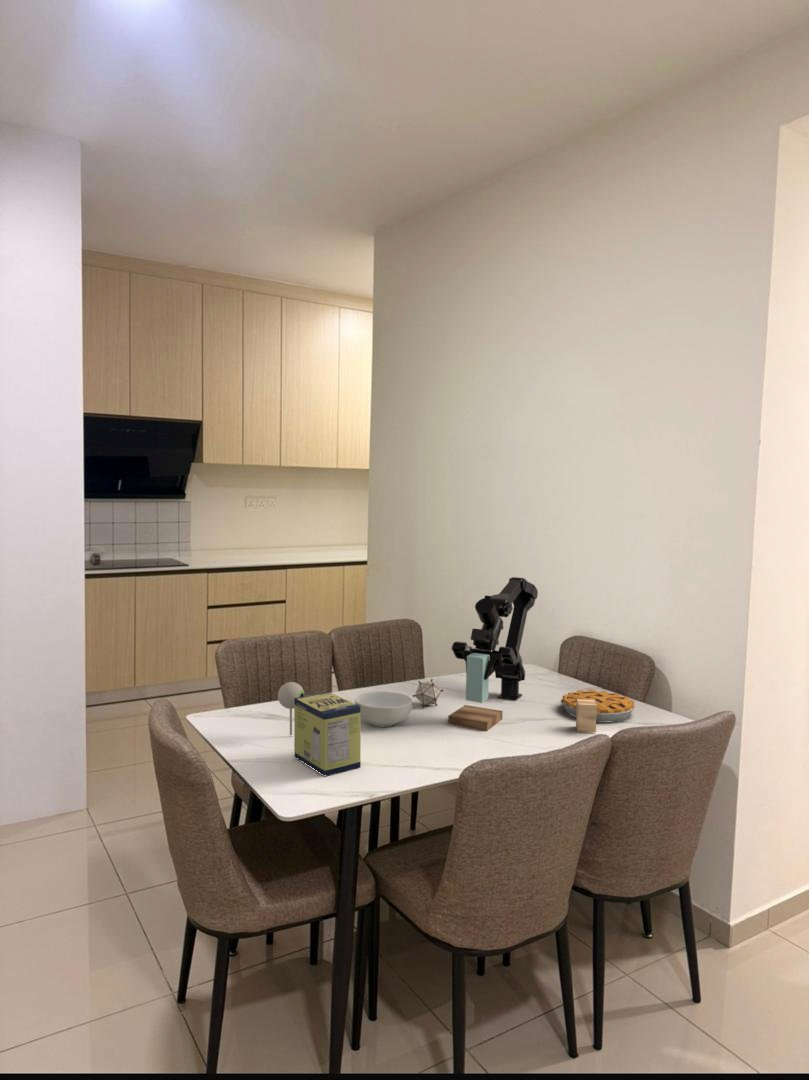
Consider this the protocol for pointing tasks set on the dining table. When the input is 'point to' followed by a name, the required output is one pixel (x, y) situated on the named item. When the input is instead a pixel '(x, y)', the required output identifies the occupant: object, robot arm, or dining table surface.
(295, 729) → the protein box
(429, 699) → the wireframe polyhedron model
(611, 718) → the pie
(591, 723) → the oak block
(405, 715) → the cereal bowl
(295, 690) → the lollipop
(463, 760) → the dining table surface
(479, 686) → the teal block
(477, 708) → the walnut slab
